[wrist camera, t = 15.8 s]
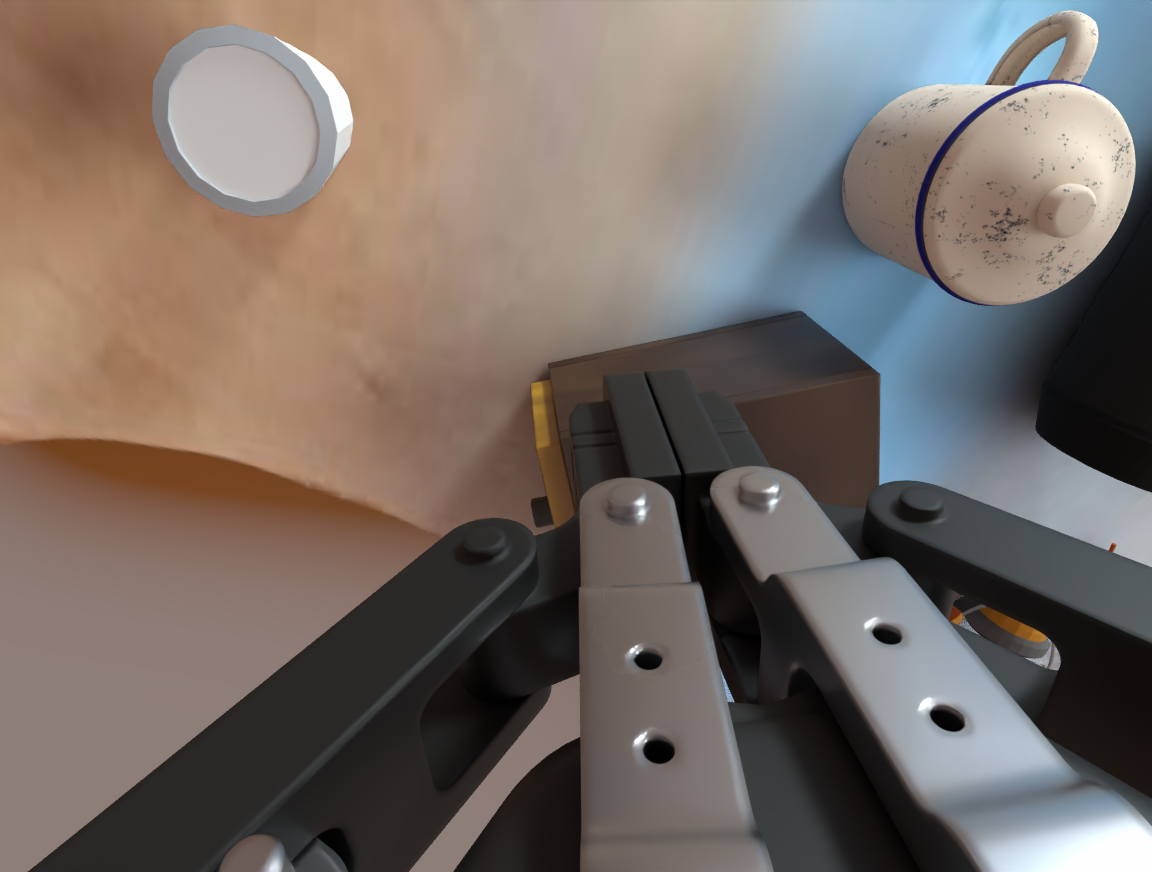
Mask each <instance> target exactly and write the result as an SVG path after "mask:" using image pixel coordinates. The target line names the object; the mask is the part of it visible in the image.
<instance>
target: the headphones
mask: <svg viewBox="0 0 1152 872" xmlns="http://www.w3.org/2000/svg"><path fill="white" fill-rule="evenodd" d="M1115 547H1116V544H1115V543H1112V545H1111V547H1110V549H1109V551H1110V552H1113V551H1114V549H1115ZM963 616H965V618H966V620H967V622H968V623H969V624H970V626H971V627H972V628H973V629H974V630H975V631H976V632H977V633H978V634H979V635H981V636H982V637H983V638H985V639H987V640H989V641H991V642H993V643H995V644H997V645H999V646H1001V647H1003V648H1005V649H1007V650H1009V651H1011V652H1013V653H1015V654H1017V655H1019V656H1021V657H1025V658H1042V657H1043V656H1044V655H1045V653H1046V652H1047V650H1048V649H1049V647H1050V642H1049V641H1048V639H1047V637H1046V636H1045V635H1044V634H1042V633H1041V632H1039V631H1037V630H1036V629H1034V628H1031V627H1029V626H1027V625H1025V624H1023V623H1021V622H1019V621H1016V620H1014V619H1012V618H1010V617H1008V616H1006V615H1004V614H1002V613H999V612H997V611H995V610H993V609H991V608H989V607H987V606H985V605H982V604H980V603H978V602H976V601H974V600H972V599H970V598H968V597H962V598H960V599H958V600H956V601H954V603H953V606H952V610H951V614H950V617H949V621H951V622H953V623H955V624H957V625H958V624H959V623H961V621H962V619H963ZM1054 655H1055V645H1054V643H1053V642H1052V650H1051V656H1050V660H1049V664H1048V667H1047V669H1051V666H1052V663H1053V659H1054ZM1060 661H1061V657H1060ZM1035 664H1037V665H1042V666H1043V667H1044V668H1046V665H1045V663H1043V662H1035Z"/></svg>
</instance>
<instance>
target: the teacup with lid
mask: <svg viewBox="0 0 1152 872" xmlns="http://www.w3.org/2000/svg"><path fill="white" fill-rule="evenodd" d="M1064 37H1066V43H1065V47H1064V49H1063V52H1062V54H1061V56H1060V58H1059V60H1058V62H1057V64H1056V66H1055V68H1054V69H1053V71H1052V73H1051V75H1050V76H1049V78H1048V80H1043V81H1035V82H1031V83H1026V84H1023V85H1020V86H1015V84H1016V82H1017V81H1018V79H1019V77H1020V76H1021V74H1022V73H1023V71H1024V70H1025V69H1026V67H1027V66H1028V65H1029V64H1030V62H1031V61H1032V60H1033V59H1034V58H1035V57H1036V56H1037V55H1038V54H1039V53H1040V52H1042V51H1043V50H1044V49H1045V48H1047V47H1048V46H1050V45H1051V44H1053V43H1054V42H1056V41H1058V40H1060V39H1062V38H1064ZM1097 44H1098V27H1097V24H1096V22H1095V21H1094V20H1093V19H1092V18H1091V17H1089V16H1087V15H1085V14H1083V13H1081V12H1078V11H1062V12H1059V13H1056V14H1053V15H1051V16H1049V17H1046V18H1045V19H1043V20H1041V21H1039V22H1038V23H1036V24H1035V25H1033V26H1032V27H1031V28H1029V29H1028V30H1027V31H1025V32H1024V33H1023V34H1022V35H1021V36H1020V37H1019V38H1018V39H1017V40H1016V41H1015V42H1014V43H1013V44H1012V45H1011V46H1010V47H1009V48H1008V50H1007V51H1006V52H1005V53H1004V55H1003V56H1002V57H1001V59H1000V60H999V62H998V63H997V65H996V66H995V68H994V70H993V71H992V73H991V75H990V77H989V78H988V80H987V82H986V84H985V85H959V84H937V85H929V86H925V87H920V88H917V89H914V90H912V91H909V92H907V93H905V94H903V95H901V96H899V97H898V98H896V99H894V100H893V101H891V102H890V103H888V104H887V105H886V106H885V107H883V108H882V109H881V110H880V111H879V112H878V113H877V114H876V115H875V116H874V117H873V118H872V119H871V120H870V121H869V122H868V124H867V125H866V126H865V128H864V129H863V130H862V132H861V133H860V135H859V136H858V138H857V140H856V141H855V143H854V145H853V147H852V149H851V152H850V154H849V157H848V160H847V163H846V166H845V170H844V175H843V182H842V200H843V207H844V211H845V215H846V218H847V221H848V223H849V225H850V227H851V229H852V231H853V232H854V234H855V235H856V236H857V238H858V239H859V240H860V241H861V242H862V243H863V244H864V245H865V246H867V247H868V248H869V249H870V250H872V251H874V252H875V253H877V254H879V255H881V256H884V257H886V258H888V259H890V260H892V261H894V262H896V263H898V264H900V265H902V266H904V267H907V268H909V269H911V270H913V271H915V272H917V273H919V274H921V275H923V276H925V277H927V278H929V279H932V280H934V281H935V282H936V283H937V284H938V285H939V286H940V287H941V288H942V289H943V290H945V291H946V292H947V293H949V294H950V295H952V296H954V297H956V298H958V299H960V300H962V301H965V302H969V303H972V304H977V305H985V306H1001V305H1011V304H1018V303H1022V302H1026V301H1029V300H1032V299H1035V298H1038V297H1041V296H1043V295H1045V294H1048V293H1050V292H1052V291H1054V290H1056V289H1057V288H1059V287H1061V286H1062V285H1064V284H1066V283H1067V282H1069V281H1070V280H1071V279H1073V278H1074V277H1075V276H1077V275H1078V274H1079V273H1080V272H1082V271H1083V270H1084V269H1085V268H1086V267H1087V266H1088V265H1089V264H1090V263H1091V262H1092V261H1093V260H1094V259H1095V258H1096V257H1097V256H1098V255H1099V254H1100V252H1101V251H1102V250H1103V249H1104V247H1105V246H1106V245H1107V243H1108V242H1109V240H1110V239H1111V238H1112V236H1113V234H1114V233H1115V231H1116V229H1117V228H1118V226H1119V224H1120V222H1121V220H1122V218H1123V216H1124V214H1125V211H1126V209H1127V206H1128V203H1129V200H1130V197H1131V193H1132V189H1133V185H1134V178H1135V164H1136V163H1135V150H1134V144H1133V140H1132V137H1131V134H1130V131H1129V129H1128V126H1127V124H1126V122H1125V120H1124V119H1123V117H1122V115H1121V114H1120V113H1119V111H1118V110H1117V109H1116V107H1115V106H1114V105H1113V104H1112V103H1111V102H1110V101H1108V100H1107V99H1106V98H1104V97H1103V96H1102V95H1100V94H1099V93H1098V92H1096V91H1094V90H1093V89H1091V88H1089V87H1087V86H1084V85H1081V84H1080V82H1081V80H1082V79H1083V77H1084V75H1085V73H1086V72H1087V70H1088V68H1089V66H1090V64H1091V62H1092V60H1093V57H1094V55H1095V52H1096V48H1097Z"/></svg>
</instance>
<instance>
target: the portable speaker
mask: <svg viewBox="0 0 1152 872" xmlns="http://www.w3.org/2000/svg"><path fill="white" fill-rule="evenodd" d="M1036 431H1037V433H1038V434H1039V435H1040V436H1041V437H1042V438H1043V439H1044V440H1046V441H1047V442H1048V443H1050V444H1051V445H1052V446H1054V447H1056V448H1057V449H1059V450H1060V451H1062V452H1064V453H1065V454H1067V455H1069V456H1071V457H1073V458H1074V459H1076V460H1078V461H1080V462H1082V463H1083V464H1085V465H1087V466H1089V467H1091V468H1093V469H1095V470H1098V471H1100V472H1102V473H1104V474H1106V475H1109V476H1111V477H1113V478H1115V479H1117V480H1120V481H1122V482H1125V483H1127V484H1130V485H1132V486H1135V487H1138V488H1140V489H1143V490H1146V491H1149V492H1152V208H1151V210H1150V211H1149V213H1148V215H1147V216H1146V218H1145V219H1144V221H1143V223H1142V224H1141V226H1140V228H1139V229H1138V231H1137V233H1136V234H1135V236H1134V237H1133V239H1132V241H1131V242H1130V244H1129V246H1128V247H1127V249H1126V251H1125V252H1124V254H1123V256H1122V257H1121V259H1120V260H1119V262H1118V264H1117V265H1116V267H1115V269H1114V270H1113V272H1112V274H1111V275H1110V277H1109V278H1108V280H1107V282H1106V283H1105V285H1104V287H1103V288H1102V290H1101V292H1100V293H1099V295H1098V296H1097V298H1096V300H1095V301H1094V303H1093V305H1092V306H1091V308H1090V310H1089V311H1088V313H1087V315H1086V316H1085V318H1084V319H1083V321H1082V323H1081V324H1080V326H1079V328H1078V329H1077V331H1076V333H1075V334H1074V336H1073V337H1072V339H1071V341H1070V342H1069V344H1068V346H1067V347H1066V349H1065V351H1064V352H1063V354H1062V355H1061V357H1060V359H1059V360H1058V362H1057V364H1056V365H1055V367H1054V369H1053V370H1052V372H1051V374H1050V375H1049V377H1048V379H1047V380H1046V381H1045V382H1044V383H1043V384H1042V388H1041V395H1040V401H1039V407H1038V414H1037V420H1036Z"/></svg>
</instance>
